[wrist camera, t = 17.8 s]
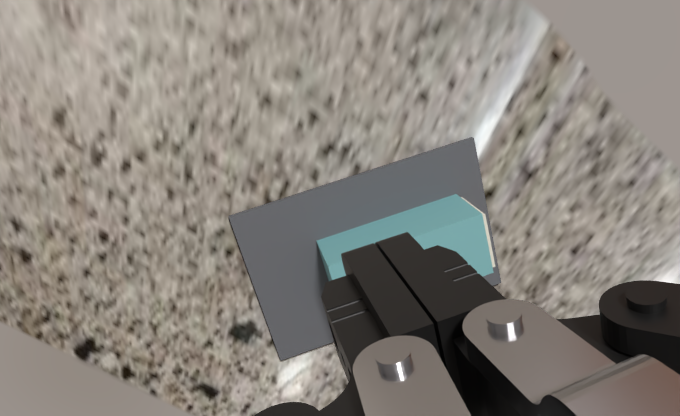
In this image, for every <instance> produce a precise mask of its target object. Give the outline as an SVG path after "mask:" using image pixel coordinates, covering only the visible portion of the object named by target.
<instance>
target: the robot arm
mask: <svg viewBox="0 0 680 416" xmlns="http://www.w3.org/2000/svg"><path fill="white" fill-rule="evenodd" d="M341 258H342V262H343V266H344V270H345V274H346V276H343V277H340V278H337V279H334V280H331V281H328V282H326V283H325V286H324V289H323V292H322V295H321V299H322V302H323V306H324V309H325V312H326V316H327V319H328V323H329V326H330V329H331V333H332V336H333V340H334V343H335V347H336V350H337V353H338V357H339V359H340V362H341V364H342V366H343V369H344V371H345V374H346V376H347V379H348V381H349V383H348V385H347V387H346V388H345V390H344V391H343V392H342V394H341V395H340V396H339V397H338V398H337V399H335V400H334V401H333V402H332V403H330V404H329V405H328V406H326V407H325V408H323V409H321V410H320V411H318V410H317V409H316V408H315V407H313V406H311V405H309V404H305V403H301V402H288V403H282V404H278V405H274V406H271V407H269V408H267V409H265V410H263V411H261V412H259V413H258V414H256V415H255V416H680V284H674V283H666V282H659V281H632V282H626V283H622V284H619V285H616V286H614V287H612V288H610V289H608V290H607V291H606V292H605V293H604V294H603V295H602V296H601V298H600V300H599V310H600V315H593V316H585V317H578V318H570V319H555V318H554V317H553V316H551V315H550V314H548V313H547V312H546V311H544V310H543V309H542V308H540V307H539V306H537V305H535V304H533V303H531V302H527V301H523V300H515V299H505V298H504V297H503V296H502V295H501V294H500V293H499V292H498V291H497V290H496V289H495V288H494V287H493V286H492V285H491V284H490V283H489V282H488V281H487V280H486V279H485V278H483V277H482V276H481V275H480V274H478V273H477V271H476V270H475V269H474V268H473V267H472V266H471V265H468V262H467V261H466V260H465V259H464V258H463V257H462V256H460V255H459V254H458V253H457V252H456V251H453V250H450V249H447V248H444V247H442V246H439V245H437V246H434V247H431V248H428V249H425V250H424V249H423V248H422V247H421V245H420V244H419V243H418V242H417V241H416V240H415V239H414V238H413V237H412V236H411V235H410V234H409V233H408V232H405V233H402V234H399V235H396V236H393V237H390V238H387V239H384V240H381V241H378V242H375V244H374V243H372V244H369V245H366V246H363V247H359V248H356V249H353V250H350V251H347V252H344V253H341Z"/></svg>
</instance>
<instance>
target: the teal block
mask: <svg viewBox="0 0 680 416" xmlns="http://www.w3.org/2000/svg"><path fill="white" fill-rule="evenodd" d="M405 232H408V233H409V234H410V235H411V236H412V237H413V238H414V239H415V240H416V241H417V242H418V243H419V244H420V245H421V247H422V248H423V249H424V250H425V249H428V248H431V247H434V246H437V245H439V246H442V247H444V248H447V249H450V250H453V251H456V252H457V253H458V254H459V255H460V256H462V257H463V258H464V259H465V260H466V261H467V262H468V265H471V266H472V267H473V268H474V269H475V270H476V271H477V273H478V274H480V275H481V276H482V277H483V276H486V275H488V274H491V273H494V272H493V267H495V261H494V256H493V251H492V246H491V241H490V235H489V230H488V225H487V220H486V215H485V214H484V213H483V212H481V211H480V210H479V209H477V208H476V207H475V206H473V205H472V204H471V203H470V202H468V201H467V200H466V199H464V198H463V197H460V196H458V195H457V194H454V195H451V196H448V197H445V198H442V199H439V200H436V201H433V202H430V203H427V204H424V205H421V206H418V207H415V208H412V209H409V210H407V211H404V212H401V213H398V214H395V215H392V216H389V217H386V218H383V219H380V220H377V221H374V222H371V223H368V224H365V225H362V226H359V227H356V228H353V229H350V230H347V231H344V232H341V233H338V234H335V235H332V236H329V237H326V238H323V239H320V240H317V245H318V248H319V251H320V254H321V257H322V261H323V264H324V267H325V270H326V274H327V277H328V280H329V281H331V280H334V279H337V278H340V277H343V276H346V274H345V270H344V266H343V262H342V258H341V253H344V252H347V251H350V250H353V249H356V248H359V247H363V246H366V245H369V244H372V243H374V244H375V242H378V241H381V240H384V239H387V238H390V237H393V236H396V235H399V234H402V233H405Z"/></svg>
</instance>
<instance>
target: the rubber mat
mask: <svg viewBox="0 0 680 416" xmlns="http://www.w3.org/2000/svg"><path fill="white" fill-rule="evenodd" d="M454 194H457V195H458V196H460V197H463V198H464V199H466V200H467V201H468V202H470V203H471V204H472V205H473V206H475V207H476V208H477V209H479V210H480V211H481V212H483V213H484V214H485V215H486V220H487V225H488V230H489V235H490V241H491V246H492V251H493V256H494V261H495V267H493V272H494V273H491V274H488V275H486V276H483V278H485V279H486V280H487V281H488V282H489V283H490V284H491V285H492V286H494V285H496V284H499V283H501V279H500V274H499V269H498V264H497V258H496V253H495V248H494V242H493V237H492V232H491V226H490V221H489V216H488V211H487V205H486V200H485V195H484V189H483V184H482V179H481V174H480V168H479V163H478V158H477V152H476V147H475V142H474V138H472V137H471V138H467V139H464V140H461V141H458V142H455V143H452V144H449V145H446V146H443V147H440V148H437V149H434V150H431V151H427V152H424V153H421V154H418V155H415V156H412V157H409V158H406V159H403V160H400V161H397V162H394V163H390V164H387V165H384V166H381V167H378V168H375V169H372V170H369V171H366V172H363V173H360V174H357V175H353V176H350V177H347V178H344V179H341V180H338V181H335V182H332V183H329V184H326V185H323V186H320V187H317V188H313V189H310V190H307V191H304V192H301V193H298V194H295V195H292V196H289V197H286V198H283V199H280V200H276V201H273V202H270V203H267V204H264V205H261V206H258V207H255V208H252V209H249V210H246V211H243V212H239V213H236V214H233V215H230V216H229V220H230V222H231V225H232V228H233V231H234V233H235V236H236V239H237V242H238V245H239V247H240V250H241V253H242V256H243V258H244V261H245V264H246V267H247V269H248V272H249V275H250V278H251V280H252V283H253V286H254V289H255V291H256V294H257V297H258V300H259V302H260V305H261V308H262V311H263V313H264V316H265V319H266V322H267V324H268V327H269V330H270V333H271V335H272V338H273V341H274V344H275V346H276V349H277V352H278V355H279V357H280V360H284V359H287V358H290V357H292V356H295V355H298V354H301V353H304V352H307V351H309V350H312V349H315V348H318V347H321V346H324V345H326V344H329V343H332V342H334V340H333V336H332V333H331V329H330V326H329V323H328V319H327V316H326V312H325V309H324V306H323V302H322V299H321V295H322V292H323V289H324V286H325V283H326V282H328V281H329V280H328V277H327V274H326V270H325V267H324V264H323V261H322V257H321V254H320V251H319V248H318V245H317V240H320V239H323V238H326V237H329V236H332V235H335V234H338V233H341V232H344V231H347V230H350V229H353V228H356V227H359V226H362V225H365V224H368V223H371V222H374V221H377V220H380V219H383V218H386V217H389V216H392V215H395V214H398V213H401V212H404V211H407V210H409V209H412V208H415V207H418V206H421V205H424V204H427V203H430V202H433V201H436V200H439V199H442V198H445V197H448V196H451V195H454Z"/></svg>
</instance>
